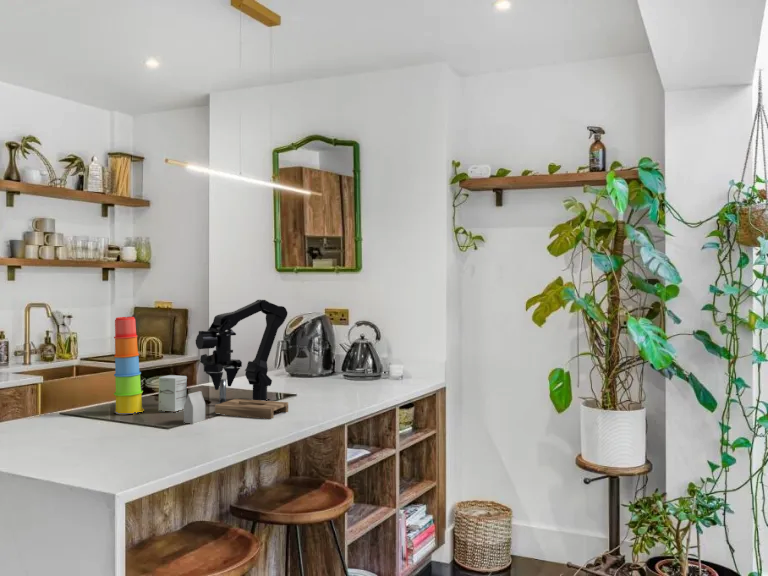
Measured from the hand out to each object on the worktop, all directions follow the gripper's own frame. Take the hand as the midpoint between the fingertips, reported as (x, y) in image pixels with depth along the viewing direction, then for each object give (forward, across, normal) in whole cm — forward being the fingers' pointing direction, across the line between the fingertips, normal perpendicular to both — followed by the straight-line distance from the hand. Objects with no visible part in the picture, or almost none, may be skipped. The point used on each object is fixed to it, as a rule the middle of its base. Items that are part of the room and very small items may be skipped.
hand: (223, 388), depth 262 cm
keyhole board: (+7, +10, +18) cm, 22 cm away
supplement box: (+7, +15, -12) cm, 21 cm away
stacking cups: (+7, +24, -24) cm, 35 cm away
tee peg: (+7, 0, 0) cm, 7 cm away
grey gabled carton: (+7, +30, +7) cm, 32 cm away
